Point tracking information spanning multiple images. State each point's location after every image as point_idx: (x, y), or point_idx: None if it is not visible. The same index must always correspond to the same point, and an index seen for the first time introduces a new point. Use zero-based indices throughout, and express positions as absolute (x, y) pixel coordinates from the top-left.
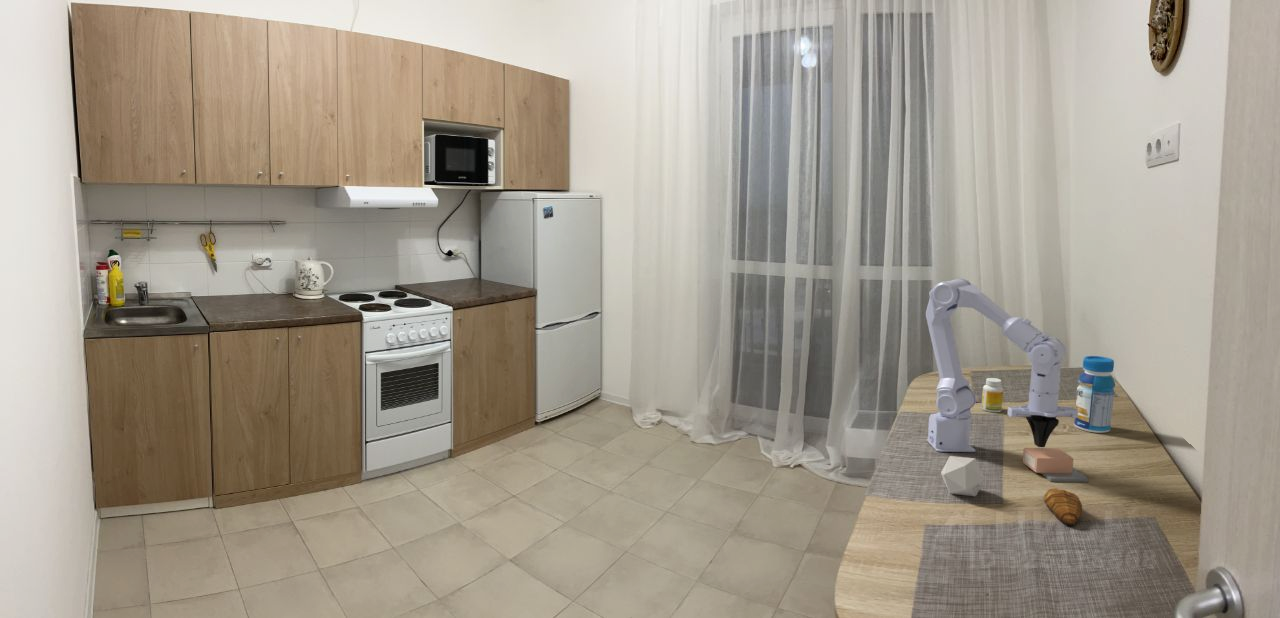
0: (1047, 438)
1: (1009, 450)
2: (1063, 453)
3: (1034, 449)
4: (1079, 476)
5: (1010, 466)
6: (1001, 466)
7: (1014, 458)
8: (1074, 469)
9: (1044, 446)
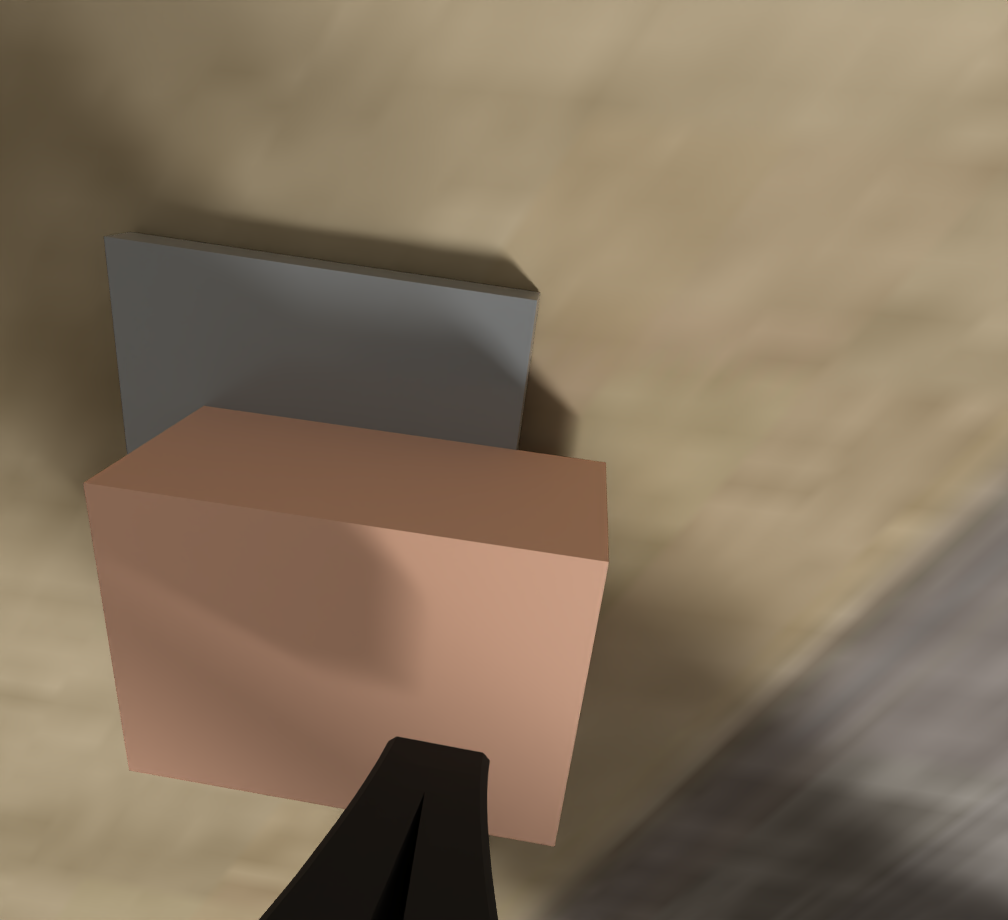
0: (318, 872)
1: None
2: (145, 635)
3: None
4: (170, 308)
5: (704, 673)
6: (797, 687)
7: None
8: None
9: (395, 746)
